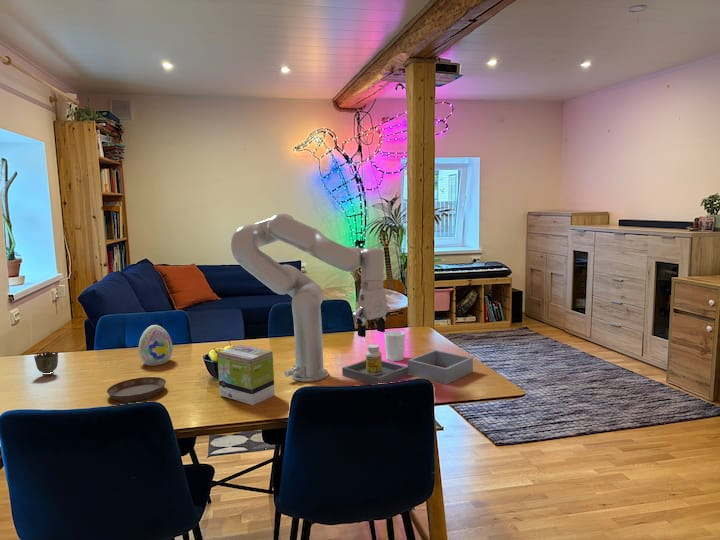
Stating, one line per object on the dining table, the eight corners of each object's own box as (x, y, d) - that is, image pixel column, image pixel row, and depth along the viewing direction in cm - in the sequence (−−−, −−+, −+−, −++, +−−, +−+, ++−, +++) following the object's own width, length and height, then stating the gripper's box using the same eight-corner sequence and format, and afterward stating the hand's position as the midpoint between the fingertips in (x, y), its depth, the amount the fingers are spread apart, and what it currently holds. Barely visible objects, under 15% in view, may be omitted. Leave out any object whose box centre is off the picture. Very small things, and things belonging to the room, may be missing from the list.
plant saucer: (99, 395, 165) (98, 386, 165) (153, 381, 177) (152, 372, 177) (119, 409, 153) (118, 400, 152) (176, 393, 165) (175, 384, 164)
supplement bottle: (383, 370, 178) (382, 344, 176) (380, 375, 172) (380, 348, 171) (368, 370, 179) (367, 343, 177) (365, 375, 173) (364, 348, 172)
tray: (378, 386, 164) (378, 378, 164) (342, 375, 176) (342, 367, 176) (408, 374, 175) (407, 366, 175) (371, 365, 187) (371, 357, 187)
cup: (64, 372, 189) (62, 351, 188) (47, 379, 182) (45, 357, 181) (48, 371, 191) (46, 350, 190) (31, 378, 184) (29, 356, 183)
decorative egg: (144, 369, 189) (140, 330, 187) (136, 362, 199) (133, 325, 197) (177, 363, 196) (174, 325, 195) (168, 356, 206) (165, 320, 204)
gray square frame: (446, 384, 165) (446, 369, 164) (407, 374, 176) (407, 360, 175) (472, 371, 176) (472, 357, 175) (435, 362, 187) (434, 349, 187)
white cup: (404, 362, 189) (403, 336, 188) (383, 361, 191) (382, 335, 190) (406, 355, 197) (406, 330, 196) (386, 355, 199) (385, 330, 197)
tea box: (218, 397, 160) (215, 351, 158) (242, 387, 168) (239, 343, 166) (252, 406, 151) (250, 358, 150) (276, 395, 160) (273, 349, 158)
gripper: (362, 288, 163) (361, 340, 165) (397, 283, 175) (396, 331, 177) (346, 286, 168) (345, 336, 170) (381, 280, 180) (380, 327, 183)
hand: (371, 333), depth 174 cm, fingers open, 9 cm apart
